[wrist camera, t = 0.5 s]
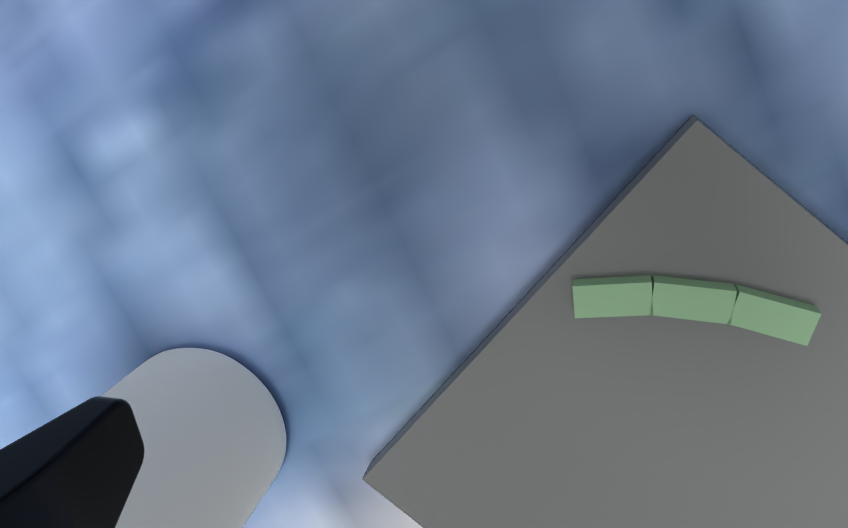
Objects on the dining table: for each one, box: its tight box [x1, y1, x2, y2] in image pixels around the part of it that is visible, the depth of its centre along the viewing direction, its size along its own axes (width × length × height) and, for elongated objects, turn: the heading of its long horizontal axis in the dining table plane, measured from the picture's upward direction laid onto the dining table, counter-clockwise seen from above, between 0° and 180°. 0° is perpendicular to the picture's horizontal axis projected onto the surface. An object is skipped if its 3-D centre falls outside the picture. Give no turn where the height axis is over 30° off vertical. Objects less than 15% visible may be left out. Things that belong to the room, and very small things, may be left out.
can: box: [101, 348, 286, 528], centre depth 23 cm, size 6×6×12 cm
